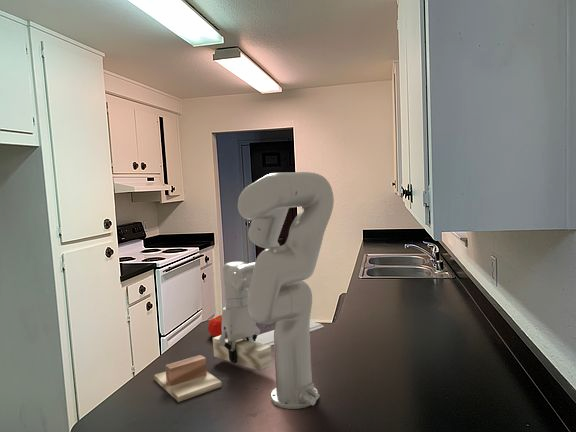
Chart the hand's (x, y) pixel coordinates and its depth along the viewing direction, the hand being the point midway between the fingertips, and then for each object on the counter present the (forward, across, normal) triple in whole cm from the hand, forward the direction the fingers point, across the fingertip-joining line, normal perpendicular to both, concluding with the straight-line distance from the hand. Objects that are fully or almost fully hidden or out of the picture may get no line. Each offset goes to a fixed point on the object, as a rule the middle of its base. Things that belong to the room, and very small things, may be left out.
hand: (241, 359), depth 132 cm
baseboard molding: (+4, -29, -15) cm, 33 cm away
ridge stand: (+3, +17, -3) cm, 18 cm away
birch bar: (+1, 0, 0) cm, 1 cm away
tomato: (+3, -10, -31) cm, 33 cm away
